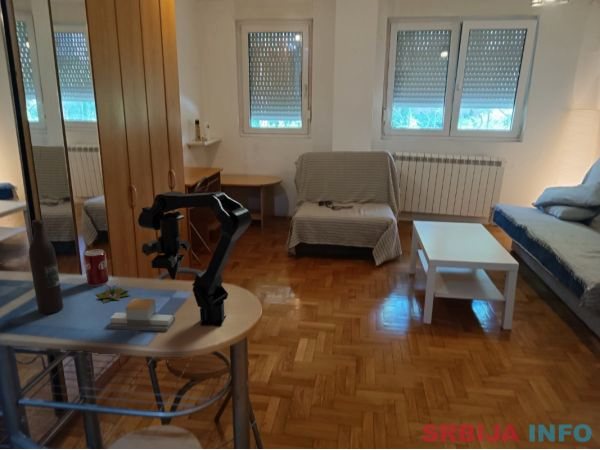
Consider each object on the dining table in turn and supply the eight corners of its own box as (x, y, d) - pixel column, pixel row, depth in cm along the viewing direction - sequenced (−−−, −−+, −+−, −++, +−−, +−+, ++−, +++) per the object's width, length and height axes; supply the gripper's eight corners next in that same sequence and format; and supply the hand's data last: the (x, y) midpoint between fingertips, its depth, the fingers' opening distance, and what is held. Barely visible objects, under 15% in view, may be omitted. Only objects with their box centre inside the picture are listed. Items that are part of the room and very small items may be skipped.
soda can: (85, 287, 157) (81, 256, 154) (89, 279, 164) (85, 249, 160) (107, 285, 159) (103, 255, 156) (110, 278, 166) (106, 248, 162)
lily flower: (100, 307, 143) (99, 295, 142) (89, 295, 152) (87, 283, 151) (136, 297, 151) (135, 285, 150) (123, 286, 160) (122, 275, 158)
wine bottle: (52, 316, 137) (38, 224, 128) (33, 313, 138) (17, 222, 130) (68, 306, 143) (55, 218, 135) (49, 303, 145) (35, 216, 136)
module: (156, 316, 135) (154, 299, 133) (148, 326, 129) (147, 308, 128) (136, 315, 135) (134, 298, 134) (127, 325, 130) (125, 307, 128)
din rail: (175, 319, 135) (174, 312, 135) (167, 331, 129) (166, 323, 128) (119, 317, 137) (118, 309, 136) (108, 328, 130) (107, 320, 129)
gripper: (155, 223, 144) (159, 267, 148) (131, 240, 126) (136, 290, 130) (189, 224, 143) (191, 268, 147) (169, 242, 125) (172, 291, 129)
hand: (173, 278), depth 139 cm, fingers closed
